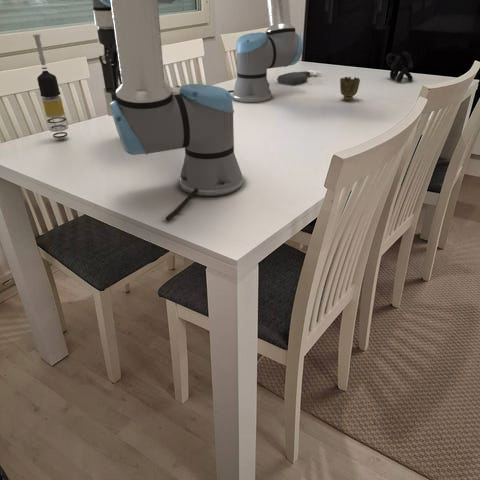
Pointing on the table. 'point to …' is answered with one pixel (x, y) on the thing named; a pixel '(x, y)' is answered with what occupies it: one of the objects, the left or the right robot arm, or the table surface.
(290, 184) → the table surface
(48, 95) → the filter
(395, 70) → the squiggle
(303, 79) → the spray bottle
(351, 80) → the cup
